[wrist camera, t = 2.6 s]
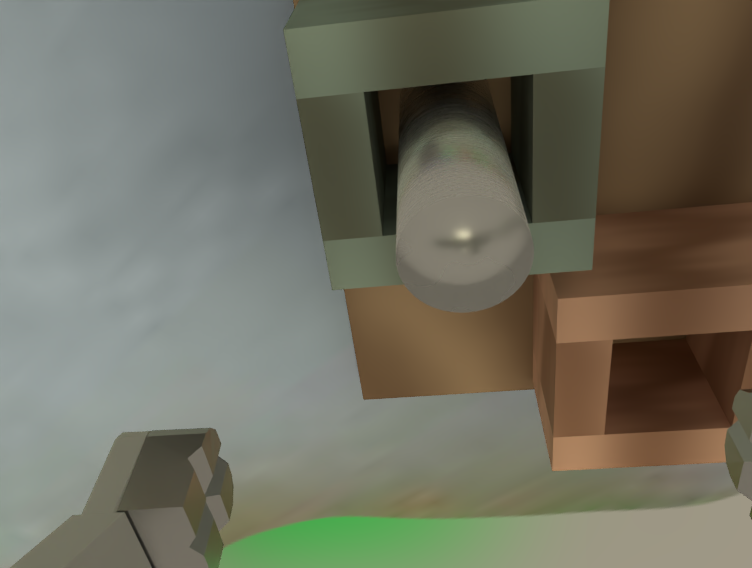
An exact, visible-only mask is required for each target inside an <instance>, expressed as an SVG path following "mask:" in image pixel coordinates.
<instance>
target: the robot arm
mask: <svg viewBox="0 0 752 568" xmlns="http://www.w3.org/2000/svg"><path fill="white" fill-rule="evenodd" d="M732 410H733V411H734V413H735V415H736V417H737V419H738V420H737V421H736V422H735V423H734V424H733V425H732V426H731V427H730V428H728V429H727V434H726V439H725V445H724V446H725V456H726V464H727V467H728V470H729V474H730V477H731V479H732V481H733V483H734V485H735V487H736V489H737V491H739V492H740V493H742V494H743V495H745V496H746V497H747V498H749V499H750V500H752V389H740V390H739V391H738V393H737V394H736V395H735V398H734V402H733V406H732ZM220 447H221V442H220V439H219V437H218V434H217V432H216V430H215V429H212V428H195V429H174V430H152V431H145V432H123V433H122V434H121V435H119V436H118V437H117V438H116V439H115V441H114V443H113V446H112V448H111V450H110V452H109V454H108V457H107V459H106V461H105V463H104V466H103V468H102V470H101V472H100V474H99V477H98V479H97V481H96V483H95V486H94V488H93V490H92V492H91V494H90V497H89V499H88V501H87V503H86V506H85V508H84V510H83V512H82V514H81V515H72V516H71V517H70V518H69V519H68V520H66V521H65V522H64V523H63V524H62V525H60V526H59V527H58V528H57V529H56V530H54V531H53V532H52V533H51V534H50V535H48V536H47V537H46V538H45V539H44V540H42V541H41V542H40V543H39V544H38V545H37V546H35V547H34V548H33V549H32V550H31V551H29V552H28V553H27V554H26V555H25V556H23V557H22V558H21V559H20V560H19V561H17V562H16V563H15V564H14V565H13V566H12V567H10V568H218V567H219V563H220V559H221V555H222V550H223V546H224V544H223V541H222V539H221V536H220V533H219V531H220V530H221V529H222V528H223V527H224V526H225V525H226V524H227V523H228V522H229V521H230V516H231V511H232V506H233V481H232V474H231V471H230V468H229V465H228V463H227V462H226V461H225V460H223V459H222V458H220V457H219V456H218V454H219V451H220ZM750 517H751V519H752V508H751V512H750Z"/></svg>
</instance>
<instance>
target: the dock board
mask: <svg viewBox="0 0 752 568" xmlns="http://www.w3.org/2000/svg"><path fill="white" fill-rule="evenodd" d="M293 3H294V11H293V13H292V15H291V16H290V18H289V20H288V22H287V24H286V25H285V27H284V29H283V31H284V37H285V42H286V47H287V53H288V58H289V63H290V69H291V74H292V79H293V84H294V90H295V95H296V100H297V106H298V111H299V116H300V122H301V127H302V132H303V138H304V143H305V148H306V153H307V159H308V164H309V169H310V175H311V180H312V185H313V191H314V196H315V201H316V207H317V212H318V217H319V222H320V228H321V233H322V238H323V244H324V249H325V254H326V260H327V265H328V270H329V276H330V281H331V286H332V290H340V289H344V292H345V297H346V303H347V309H348V314H349V320H350V325H351V331H352V337H353V342H354V348H355V354H356V359H357V365H358V371H359V376H360V382H361V388H362V393H363V399H364V400H366V399H382V398H398V397H415V396H431V395H447V394H463V393H479V392H496V391H512V390H528V389H535V393H536V398H537V403H538V407H539V412H540V416H541V421H542V426H543V430H544V435H545V439H546V444H547V449H548V453H549V458H550V463H551V467H552V471H561V470H581V469H601V468H621V467H641V466H660V465H680V464H700V463H720V462H726V456H725V446H724V445H725V439H726V434H727V429H728V428H730V427H731V426H732V425H733V424H734V423H735V422H736V421H737V420H738V419H737V417H736V415H735V413H734V411H733V410H732V406H733V402H734V398H735V395H736V394H737V393H738V391H739V390H740V389H752V0H293ZM484 79H486V80H487V82H488V86H489V89H490V93H491V96H492V100H493V103H494V107H495V110H496V114H497V117H498V121H499V124H500V128H501V131H502V135H503V138H504V142H505V145H506V149H507V152H508V156H509V159H510V163H511V166H512V169H513V173H514V176H515V180H516V183H517V187H518V190H519V194H520V197H521V201H522V204H523V208H524V211H525V215H526V218H527V222H528V225H529V229H530V232H531V236H532V240H533V244H534V258H533V263H532V267H531V270H530V272H529V275H528V276H527V278H526V280H525V281H524V283H523V284H522V285H521V287H520V288H519V289H518V290H517V291H516V292H515V293H514V294H513V295H511V296H510V297H509V298H508V299H506V300H504V301H503V302H501V303H499V304H497V305H495V306H493V307H490V308H487V309H484V310H480V311H475V312H465V313H457V312H448V311H443V310H440V309H436V308H433V307H431V306H429V305H427V304H425V303H423V302H422V301H420V300H419V299H417V298H416V297H415V296H414V295H413V294H412V293H411V292H410V291H409V290H408V289H407V288H406V287H405V285H404V284H403V282H402V280H401V278H400V276H399V273H398V270H397V266H396V224H397V186H398V149H399V111H400V91H401V88H408V87H417V86H427V85H436V84H446V83H455V82H465V81H474V80H484Z"/></svg>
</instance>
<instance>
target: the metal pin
mask: <svg viewBox="0 0 752 568" xmlns="http://www.w3.org/2000/svg"><path fill="white" fill-rule="evenodd" d="M533 258H534V244H533V240H532V236H531V232H530V229H529V225H528V222H527V218H526V215H525V211H524V208H523V204H522V201H521V197H520V194H519V190H518V187H517V183H516V180H515V176H514V173H513V169H512V166H511V163H510V159H509V156H508V152H507V149H506V145H505V142H504V138H503V135H502V131H501V128H500V124H499V121H498V117H497V114H496V110H495V107H494V103H493V100H492V96H491V93H490V89H489V86H488V82H487V80H486V79H484V80H474V81H465V82H455V83H446V84H436V85H427V86H417V87H408V88H401V91H400V111H399V149H398V186H397V224H396V266H397V270H398V273H399V276H400V278H401V280H402V282H403V284H404V285H405V287H406V288H407V289H408V290H409V291H410V292H411V293H412V294H413V295H414V296H415V297H416V298H417V299H419V300H420V301H422V302H423V303H425V304H427V305H429V306H431V307H433V308H436V309H440V310H443V311H448V312H457V313H465V312H475V311H480V310H484V309H487V308H490V307H493V306H495V305H497V304H499V303H501V302H503V301H504V300H506V299H508V298H509V297H510V296H511V295H513V294H514V293H515V292H516V291H517V290H518V289H519V288H520V287H521V285H522V284H523V283H524V281H525V280H526V278H527V276H528V275H529V272H530V270H531V267H532V263H533Z"/></svg>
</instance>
